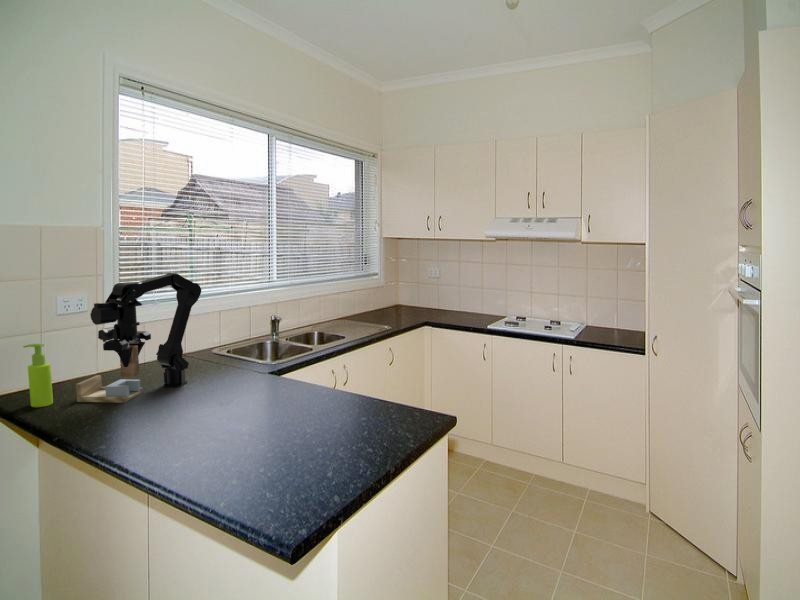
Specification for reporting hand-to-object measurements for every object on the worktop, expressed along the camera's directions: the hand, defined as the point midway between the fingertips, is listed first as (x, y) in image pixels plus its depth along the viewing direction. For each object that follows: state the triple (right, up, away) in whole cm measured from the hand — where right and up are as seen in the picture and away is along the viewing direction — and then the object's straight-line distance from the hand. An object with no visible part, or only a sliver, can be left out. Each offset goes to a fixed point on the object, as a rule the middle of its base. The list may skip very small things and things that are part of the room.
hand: (129, 365), depth 164 cm
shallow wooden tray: (-7, -11, +1) cm, 13 cm away
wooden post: (0, -4, 0) cm, 4 cm away
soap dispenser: (-25, -12, -7) cm, 29 cm away
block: (-3, -10, +1) cm, 10 cm away
